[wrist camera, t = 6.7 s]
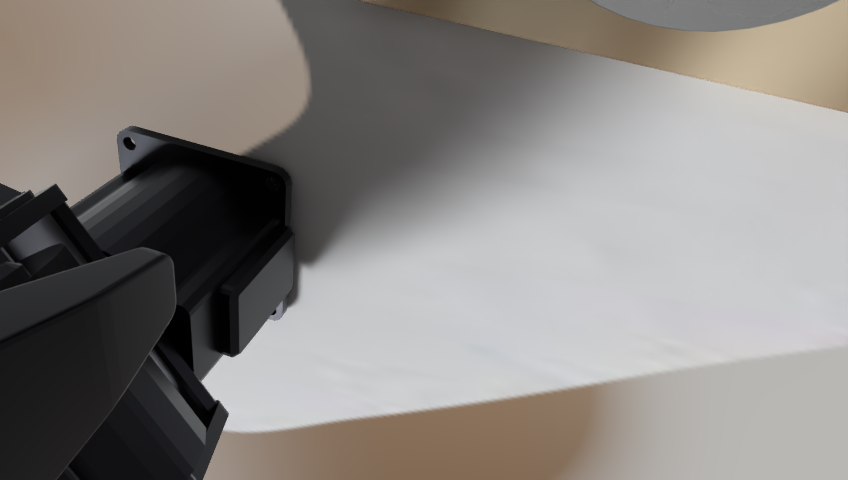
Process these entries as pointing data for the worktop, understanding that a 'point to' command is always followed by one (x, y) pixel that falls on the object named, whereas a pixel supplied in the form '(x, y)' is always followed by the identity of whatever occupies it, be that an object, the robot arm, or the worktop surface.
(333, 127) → the worktop surface
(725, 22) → the pot lid
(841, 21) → the oak board
